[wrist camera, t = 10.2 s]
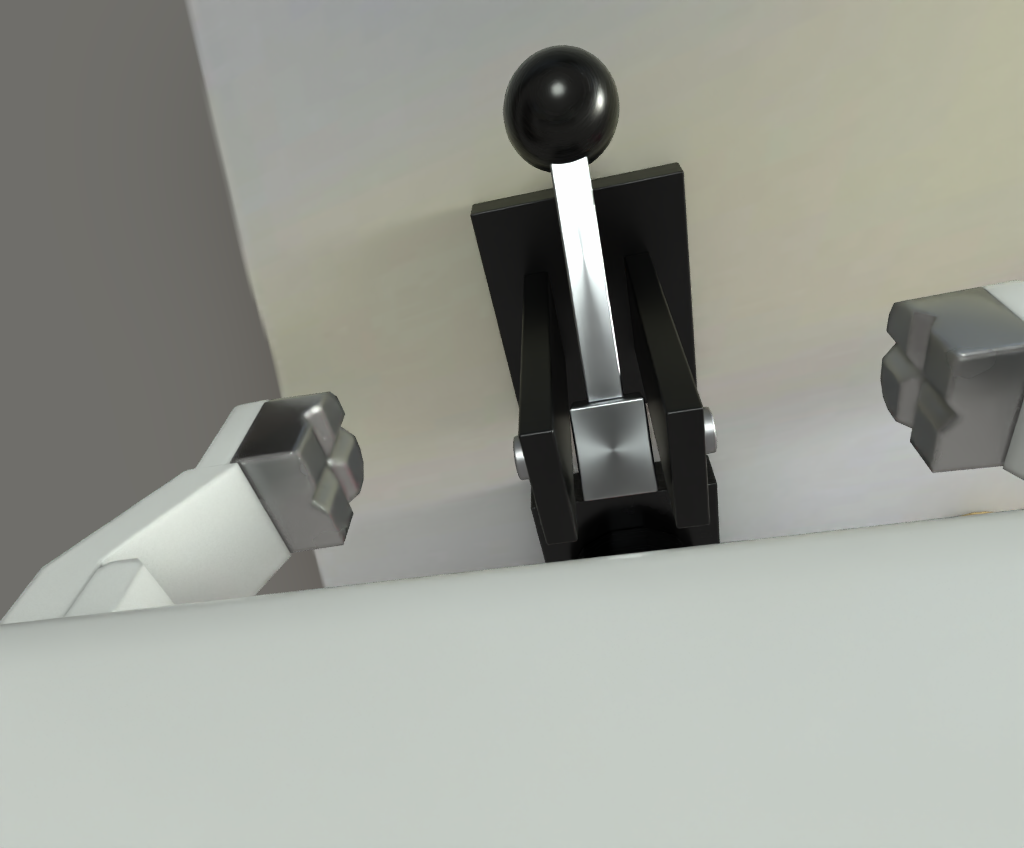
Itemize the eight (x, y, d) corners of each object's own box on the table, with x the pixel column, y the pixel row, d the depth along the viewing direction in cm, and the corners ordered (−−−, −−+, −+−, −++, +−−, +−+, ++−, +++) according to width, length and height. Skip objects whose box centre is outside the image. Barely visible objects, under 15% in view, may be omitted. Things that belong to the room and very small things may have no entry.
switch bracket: (472, 204, 26) (436, 358, 17) (678, 161, 25) (764, 301, 16) (523, 408, 32) (517, 608, 23) (692, 381, 31) (761, 581, 22)
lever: (502, 87, 21) (485, 39, 18) (609, 62, 21) (610, 8, 18) (568, 484, 23) (562, 508, 19) (669, 470, 22) (681, 492, 19)
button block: (531, 479, 35) (530, 535, 32) (707, 454, 34) (725, 509, 30) (565, 612, 41) (568, 670, 38) (715, 595, 40) (730, 653, 37)
